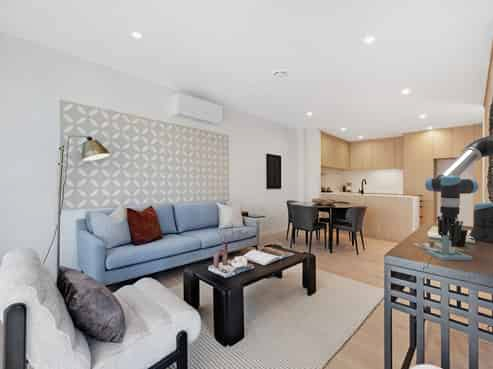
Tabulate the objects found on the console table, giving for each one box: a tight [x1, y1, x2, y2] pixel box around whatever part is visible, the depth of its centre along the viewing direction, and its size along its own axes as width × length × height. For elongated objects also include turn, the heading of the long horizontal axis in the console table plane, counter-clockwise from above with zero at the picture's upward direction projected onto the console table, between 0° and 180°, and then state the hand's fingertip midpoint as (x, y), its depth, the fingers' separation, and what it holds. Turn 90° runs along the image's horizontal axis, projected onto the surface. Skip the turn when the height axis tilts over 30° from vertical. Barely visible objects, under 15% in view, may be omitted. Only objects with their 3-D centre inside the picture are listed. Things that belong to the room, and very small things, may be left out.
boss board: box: [412, 240, 465, 253], centre depth 135 cm, size 18×14×4 cm
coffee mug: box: [448, 227, 469, 248], centre depth 142 cm, size 12×9×10 cm
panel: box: [425, 234, 473, 261], centre depth 123 cm, size 15×10×10 cm, turn 89°
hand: (448, 251), depth 123 cm, fingers closed on panel, 3 cm apart
